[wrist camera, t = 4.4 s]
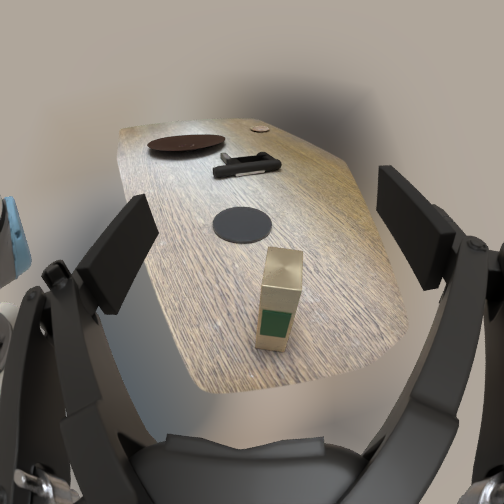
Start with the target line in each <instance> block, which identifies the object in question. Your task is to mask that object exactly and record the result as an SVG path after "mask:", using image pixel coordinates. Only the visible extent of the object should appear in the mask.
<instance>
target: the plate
mask: <svg viewBox="0 0 504 504" xmlns="http://www.w3.org/2000/svg"><path fill="white" fill-rule="evenodd" d="M224 140H225V137H223V136H219V135H182V136H172V137H165V138H160V139H157V140H154V141H151V142H150V143H148V144H147V146H148V147H149V148H151V149H155V150H164V151H191V150H195V149H200V148H204V147H208V146H212V145H216V144H219V143H221V142H223V141H224Z"/></svg>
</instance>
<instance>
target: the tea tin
mask: <svg viewBox="0 0 504 504" xmlns="http://www.w3.org/2000/svg"><path fill="white" fill-rule="evenodd" d="M302 270H303V251H298V250H291V249H283V248H276V247H268V251H267V257H266V262H265V268H264V274H263V279H262V285H261V295H260V304H259V314H258V324H257V333H256V343H255V348H258V349H264V350H272V351H279V352H284V351H285V348H286V345H287V341H288V338H289V334H290V331H291V328H292V324H293V321H294V317H295V313H296V310H297V306H298V303H299V299H300V295H301V291H302Z"/></svg>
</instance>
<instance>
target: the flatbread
mask: <svg viewBox="0 0 504 504" xmlns="http://www.w3.org/2000/svg"><path fill="white" fill-rule="evenodd" d="M250 129H252V130H254V131H260V132H261V131H268V130H269V128H268V127H264V126H254V127H251V128H250Z"/></svg>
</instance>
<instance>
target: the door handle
mask: <svg viewBox="0 0 504 504" xmlns="http://www.w3.org/2000/svg"><path fill="white" fill-rule="evenodd" d="M221 159H222V160H223V161H224V162H225V163H226V165H224V166H217V167H215V168H213V175H214V177H224V176H230V175H235V176H237V177H238V176H242V175H249V174H257V173H264V172H265V171H268V170H276V169H279V168H281V165H282V164H281V161H280V160H278V159H275V158H273V157H272V156H270V155H269V154H267V153H266V152H260V153H258V154H257V155H256V156H247V157H238V158H231V157H230V156H229V155H228V154H226V153H221Z"/></svg>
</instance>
